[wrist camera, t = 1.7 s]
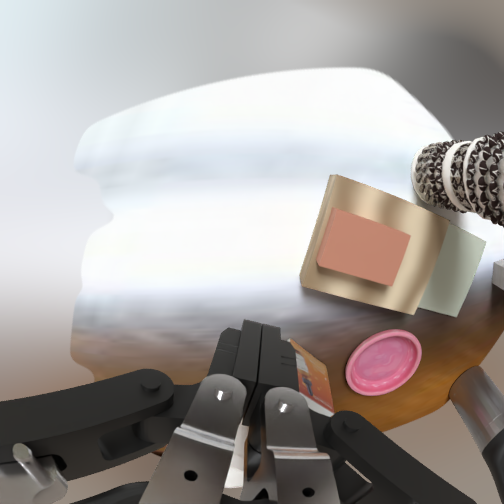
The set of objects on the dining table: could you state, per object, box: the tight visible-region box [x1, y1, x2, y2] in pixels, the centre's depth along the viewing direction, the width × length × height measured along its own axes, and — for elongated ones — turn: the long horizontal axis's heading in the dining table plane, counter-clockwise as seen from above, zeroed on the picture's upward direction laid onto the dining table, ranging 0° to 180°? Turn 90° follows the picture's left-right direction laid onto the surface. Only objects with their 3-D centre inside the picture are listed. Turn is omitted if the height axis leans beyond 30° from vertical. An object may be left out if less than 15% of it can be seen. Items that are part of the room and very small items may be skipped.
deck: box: [299, 175, 450, 315], centre depth 31 cm, size 16×13×4 cm
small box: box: [287, 338, 334, 417], centre depth 33 cm, size 8×6×10 cm
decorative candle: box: [411, 132, 504, 227], centre depth 17 cm, size 9×9×25 cm
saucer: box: [345, 329, 422, 396], centre depth 36 cm, size 12×12×3 cm
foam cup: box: [224, 418, 249, 488], centre depth 37 cm, size 10×9×13 cm
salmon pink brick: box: [316, 207, 411, 286], centre depth 28 cm, size 9×6×2 cm, turn 75°
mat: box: [418, 223, 486, 317], centre depth 32 cm, size 12×13×1 cm
